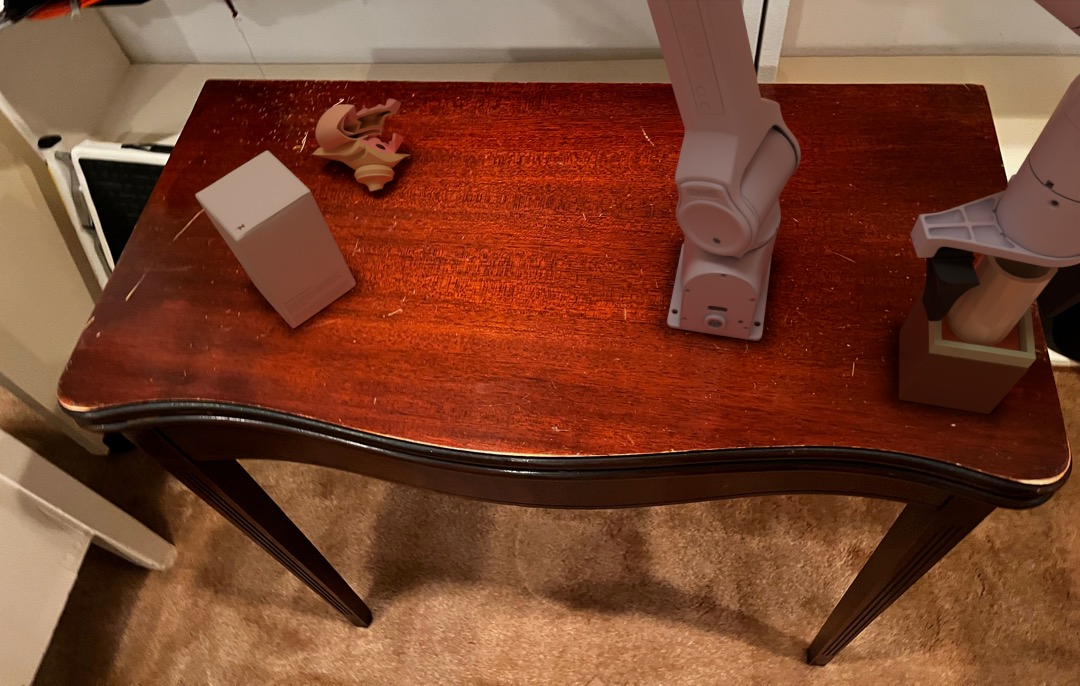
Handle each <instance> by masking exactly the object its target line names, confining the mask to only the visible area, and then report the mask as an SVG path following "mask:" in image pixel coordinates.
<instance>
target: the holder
mask: <svg viewBox="0 0 1080 686" xmlns="http://www.w3.org/2000/svg"><path fill="white" fill-rule="evenodd" d="M924 289H925V285H924V286H923V288H922V290H921V292H920V294H919V295H918V297H917V299H916V301H915V303H914V304H913V307H912V308H911V309H910V311H909V314H908V316H907V317H906V319H905V321H904V322H903V324H902V326H901V328H900V330H899V333H898V339H899V340H898V400H900V401H905V402H910V403H911V402H913V403H917V404H923V405H929V406H935V407H942V408H947V409H953V410H960V411H965V412H966V411H967V412H972V413H977V414H984V415H990V414H991V412H992V411H993V410H995V408H996V407H997V406H998V405H999V404H1000V402H1001V401H1002V400H1003V399H1004V398H1005V397H1006V396H1007V395H1008V393H1009V392H1010V391H1011V390H1012V389H1013V388H1014V387H1015V385H1016V384H1017V383H1019V381H1020V379H1022V377H1023V376H1024V375H1025V374H1026V373H1027V371H1029V369H1030V366H1032V364H1033V363H1034V362H1035V361H1036V360H1037V355H1036V347H1035V346H1036V345H1035V337H1034V336H1035V335H1034V325H1033V324H1034V323H1033V316H1032V315H1033V314H1032V305H1031V306H1030V307H1029V309H1028V310H1027V311H1026V313H1025V314H1024V315H1023V316H1022V318H1021V319H1020V320H1019V322H1018V323H1017V324H1016V325H1015V327H1014V328H1013V329H1012V330H1011V332H1010V333H1009V334H1008V335H1007V337H1006V338H1005V339H1004V340H1003V341H1002V342H1000V343H998V344H996V345H992V346H981V345H974V344H969V343H967V342H965V341H963V340H961V339H960V338H958V337H957V336H956V335H955V334H954V333H953V332H952V331H951V330H950V328H949V326H948V324H947V320H946V316H945V317H944V318H943V319H941V320H940V321H929V320H928V317H927V314H926V311H925V308H924V304H923V301H922V298H923V294H924Z"/></svg>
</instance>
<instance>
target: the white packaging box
mask: <svg viewBox="0 0 1080 686" xmlns="http://www.w3.org/2000/svg"><path fill="white" fill-rule="evenodd" d="M194 195H195V198H196V200H197V201H198V203H199V204H200V206H201V208H202V209H203V210H204V213H205V215H207V217H208V218H209V220H210V222H211V223H212V224H213V226H214V227H215V229H216V230H217V232H218V233H219V234H220V236H221V237H222V239H223V240H224V242H225V243H226V244H227V247H229V249H230V250H231V252H232V254H233V255H234V256H235V258H236V260H237V261H238V262H239V263H240V265H241V266H242V268H243V269H244V271H245V273H246V274H247V276H248V277H249V279H250V280H251V282H252V283H253V285H254V287H256V289H257V290H258V292H260V293H261V295H262V296H263V297H264V298H265V299H266V301H267V302H268V303H269V305H270V306H272V307H273V309H274V310H275V311H276V312H277V313H278V314H279V315H280V316H281V318H282V319H283V320H284V321H285V322H286V323H287V324H288V325H289V327H291V328H292V329H296V328H297V327H298V326H300V325H301V324H303V323H305V322H306V321H308V320H309V319H310V318H311V317H313V316H315V315H316V314H317V313H319V312H320V311H322V310H323V309H325V308H326V307H328V306H329V305H330V304H332V303H334V302H335V301H336V300H338V299H339V298H340V297H342V296H343V295H345V294H347V292H349V291H350V290H351V289H353V288H354V287H355V286H356V284H357V282H356V280H355V278H354V276H353V274H352V272H351V270H350V267H349V266H348V264H347V261H346V260H345V258H344V256H343V254H342V252H341V250H340V248H339V245H338V244H337V242H336V240H335V238H334V235H333V234H332V232H331V230H330V228H329V226H328V224H327V222H326V220H325V218H324V216H323V214H322V212H321V210H320V208H319V205H318V203H317V202H316V199H315V197H314V196H313V193H312V191H311V189H309V187H307V185H306V184H305V183H303V182H302V181H301V180H300V179H299V178H298V177H297V176H296V175H295V174H294V173H293V172H292V171H291V170H290V169H288V168H287V166H286V165H284V164H283V163H282V162H281V161H280V160H279V159H278V158H277V157H276V156H275V155H274V154H273V153H272V152H271V151H270V150H265V151H263V152H262V153H260V154H258V155H257V156H254V157H253V158H252V159H250V160H249V161H246V162H245V163H244V164H242V165H240V166H239V167H237V168H236V169H234V170H232V171H231V172H229V173H227V174H226V175H225V176H223V177H221V178H220V179H218V180H216V181H214V183H211V184H210V185H208V186H207V187H205V188H204V189H202V190H200V191H198V192H196V193H195V194H194Z"/></svg>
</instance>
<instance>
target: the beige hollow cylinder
mask: <svg viewBox="0 0 1080 686" xmlns="http://www.w3.org/2000/svg"><path fill="white" fill-rule="evenodd" d="M973 266H974V269H975V271H976V274H977V277H978V280H979V282H980V285H978V286H976V287H973V288H971V289H970V290H968V291H967V292H965V293H964V294H963V295H962V296H961V297H960V298H958V299H957V300H956V302H955V303H954V304H953V306H952V307H951V309H950V310H949V312H948V313H947V315H946V320H947V324H948V326H949V328H950V330H951V331H952V332H953V333H954V334H955V335H956V336H957V337H958V338H960V339H961V340H963V341H965V342H967V343H969V344H974V345H981V346H992V345H996V344H998V343H1000V342H1002V341H1003V340H1004V339H1005V338H1006V337H1007V335H1008V334H1009V333H1010V332H1011V330H1012V329H1013V328H1014V327H1015V325H1016V324H1017V323H1018V322H1019V320H1020V319H1021V318H1022V316H1023V315H1024V314H1025V313H1026V311H1027V310H1028V309H1029V307H1030V306H1031V307H1032V306H1033V304H1034V302H1035V301H1037V299H1036V298H1037V297H1038V296H1039V295H1040V293H1041V292H1042V291H1043V289H1044V288H1045V287H1046V286H1047V284H1048V283H1049V282H1050V280H1051V279H1052V278H1053V277H1054V275H1055V274H1056V273H1057V271H1058V267H1045V266H1039V265H1034V264H1030V263H1025V262H1020V261H1015V260H1010V259H1006V258H1001V257H996V256H991V255H986V254H982V253H981V255H980V256H979V258H978V260H977V261H976V263H975V264H974V265H973Z"/></svg>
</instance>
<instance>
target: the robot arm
mask: <svg viewBox="0 0 1080 686" xmlns="http://www.w3.org/2000/svg"><path fill="white" fill-rule="evenodd" d="M1033 1H1034V2H1035V4H1037V5H1038V6H1040V7H1041V8H1043V9H1044V10H1045V11H1046V12H1048V13H1049V14H1050V15H1051V16H1053V17H1054V18H1055V19H1056V20H1058V21H1059V22H1060V23H1061V24H1063V25H1064V26H1065V27H1066V28H1068V29H1069V30H1070V31H1071V32H1073V33H1074V34H1075V35H1077V36H1078V37H1079V38H1080V0H1033ZM646 2H647V6H648V9H649V12H650V13H649V14H650V15H651V19H652V22H653V27H654V29H655V33H656V36H657V39H658V43H659V46H660V50H661V53H662V56H663V61H664V62H665V66H666V69H667V74H668V77H669V80H670V84H671V87H672V90H673V93H674V97H675V101H676V104H677V107H678V110H679V114H680V118H681V121H682V124H683V127H684V135H683V140H682V144H681V148H680V152H679V156H678V161H677V165H676V170H675V175H674V183H675V185H676V189H677V193H678V201H677V204H676V208H675V219H676V223H677V224H678V226H679V229H680V230H681V231H682V233H683V234H684V241H683V243H682V244H681V249H680V253H679V259H678V265H677V269H676V274H675V279H674V284H673V289H672V295H671V300H670V304H669V309H668V310H669V311H668V315H667V320H666V324H667V326H668V328H671V329H677V330H683V331H684V330H685V331H690V332H697V333H703V334H709V335H715V336H722V337H723V336H724V337H729V338H734V339H742V340H748V341H755V342H757V341H760V340H762V337H763V333H764V332H763V330H764V324H765V323H764V322H765V316H766V315H765V314H766V308H767V307H766V305H767V296H768V290H769V281H770V271H771V264H772V254H773V251H774V247H775V243H776V239H777V235H778V232H779V227H780V224H781V219H782V218H781V217H782V213H781V205H780V199H779V197H780V196H781V194H782V192H783V190H784V188H785V187H786V185H787V184H788V181H789V179H790V178H792V177H793V175H794V174H795V172H796V171H797V170H798V168H799V166H800V163H801V160H802V152H801V151H802V150H801V147H800V144H799V141H798V139H797V138H796V136H795V135H794V134H793V132H792V131H791V129H789V128H788V126H787V125H786V122H785V121H784V119H783V115H782V111H781V105H780V103H779V102H777V101H775V100H772V99H768V98H764V97H762V95H761V92H760V86H759V82H758V76H757V72H756V67H755V63H754V62H755V61H754V58H753V53H752V49H751V44H750V43H751V42H750V39H749V33H748V29H747V25H746V18H745V14H744V10H743V5H742V1H741V0H646ZM1006 186H1007V188H1006V189H1004V190H1001V191H999V192H996V193H993V194H991V195H987V196H984V197H982V198H978V199H975V200H973V201H970V202H967V203H964V204H961V205H958V206H955V207H952V208H950V209H945V210H942V211H938V212H934V213H933V212H932V213H922V214H918V217H917V219H916V221H915V223H914V225H913V228H912V229H911V232H910V233H909V236H910V239H911V242H912V246H913V248H914V251H915V254H916V257H917V258H919V259H923V258H925V263H926V264H925V265H926V268H925V269H926V270H925V272H926V274H925V284H924V286H925V289H924V294H923V298H922V301H923V304H924V308H925V311H926V314H927V317H928V320H929V321H940V320H941V319H943V318H944V317H945V316H946V315H947V313H948V312H949V310H950V309H951V307H952V306H953V304H954V303H955V302H956V300H957V299H958V298H960V297H961V296H962V295H963V294H964V293H965V292H967V291H968V290H970V289H971V288H973V287H976V286H978V285H980V282H979V280H978V277H977V274H976V271H975V269H974V266H975V265H974V262H975V260H976V256H975V255H974V253H978V254H981V255H982V254H986V255H991V256H996V257H1001V258H1006V259H1010V260H1015V261H1020V262H1025V263H1030V264H1034V265H1039V266H1045V267H1058V271H1057V273H1056V274H1055V275H1054V277H1053V278H1052V279H1051V280H1050V282H1049V283H1048V284H1047V286H1046V287H1045V288H1044V289H1043V291H1042V292H1041V293H1040V295H1039V296H1038V297H1037V298H1036V302H1037V304H1038V307H1039V309H1040V311H1041V314H1042V316H1043V318H1054V317H1056V316H1057V315H1059V314H1062V313H1063V312H1064V311H1066V310H1068V309H1069V308H1071V307H1073V306H1075V305H1076V304H1079V303H1080V73H1079V74H1077V76H1075V78H1074V79H1073V80H1072V81H1071V82H1070V84H1069V85H1068V87H1067V89H1066V90H1065V92H1064V94H1063V95H1062V97H1061V98H1060V100H1059V102H1058V104H1057V105H1056V107H1055V108H1054V110H1053V112H1052V114H1051V115H1050V117H1049V119H1048V120H1047V122H1046V123H1045V125H1044V127H1043V129H1042V130H1041V132H1040V133H1039V135H1038V137H1037V139H1036V140H1035V142H1034V144H1033V145H1032V147H1031V149H1030V150H1029V152H1028V154H1027V155H1026V157H1025V159H1024V160H1023V162H1022V163H1021V165H1020V167H1019V168H1018V170H1017V172H1016V173H1015V174H1012V175H1011V176H1010V178H1009V179H1008V181H1007V184H1006ZM674 312H675V313H674Z"/></svg>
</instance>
